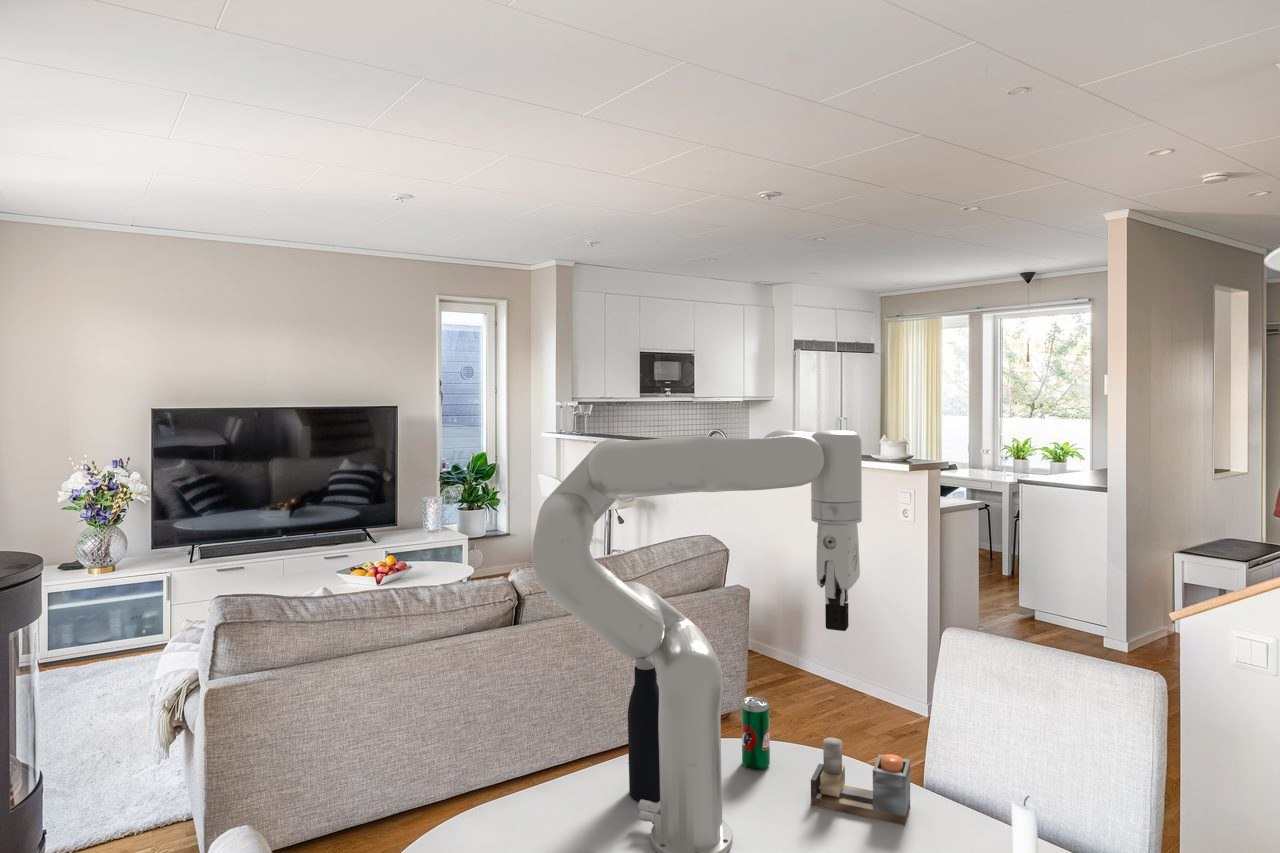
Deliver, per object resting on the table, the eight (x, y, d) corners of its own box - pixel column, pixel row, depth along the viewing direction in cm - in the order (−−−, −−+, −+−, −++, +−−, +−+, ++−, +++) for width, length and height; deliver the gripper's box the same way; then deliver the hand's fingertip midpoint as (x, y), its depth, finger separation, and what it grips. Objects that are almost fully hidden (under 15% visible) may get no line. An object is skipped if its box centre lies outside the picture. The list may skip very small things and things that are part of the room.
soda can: (769, 772, 145) (768, 707, 144) (741, 770, 146) (740, 705, 145) (770, 759, 150) (769, 696, 149) (743, 757, 151) (742, 694, 150)
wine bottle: (624, 800, 136) (620, 626, 134) (635, 782, 143) (632, 615, 141) (661, 805, 135) (657, 629, 133) (670, 786, 141) (667, 618, 139)
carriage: (820, 793, 133) (820, 746, 133) (827, 779, 138) (826, 733, 137) (838, 797, 132) (838, 749, 131) (844, 782, 136) (844, 736, 136)
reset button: (879, 777, 130) (879, 761, 129) (882, 768, 133) (882, 752, 133) (901, 781, 128) (901, 765, 128) (904, 772, 131) (904, 756, 131)
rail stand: (811, 805, 134) (810, 758, 133) (819, 788, 139) (818, 743, 138) (905, 825, 127) (905, 776, 127) (910, 807, 132) (910, 759, 132)
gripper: (851, 520, 115) (852, 646, 116) (869, 504, 129) (870, 617, 130) (800, 518, 118) (801, 640, 119) (822, 502, 132) (823, 612, 133)
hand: (837, 628), depth 125 cm, fingers closed
